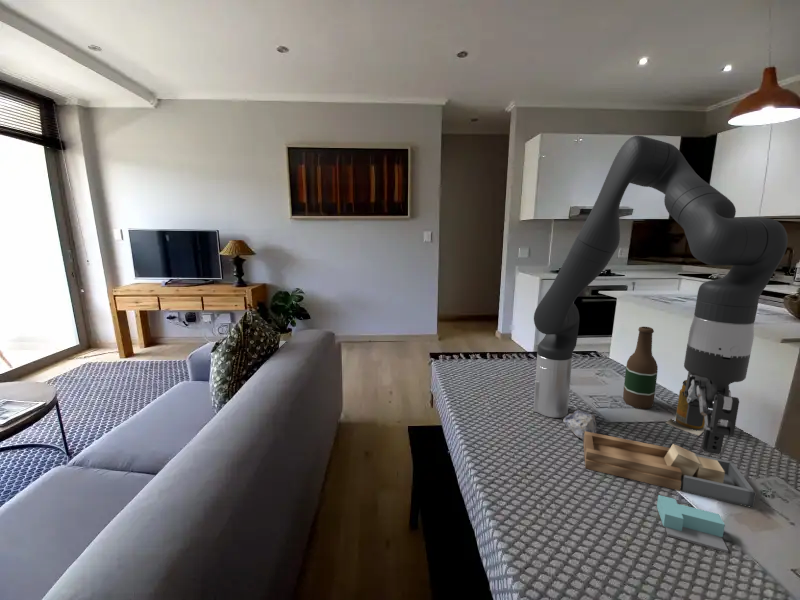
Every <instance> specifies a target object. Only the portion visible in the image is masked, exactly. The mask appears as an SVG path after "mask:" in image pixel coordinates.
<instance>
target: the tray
mask: <svg viewBox="0 0 800 600" xmlns="http://www.w3.org/2000/svg"><path fill="white" fill-rule="evenodd" d="M695 455H696V456H698V457H703V458H708V459H713V460H717V461H718V462H719V464H720V465H721V467H722V468H723V470H724V471H725V475H724V480H723V483H719V482H714V481H709V480H705V479H700V478H696V477H693V476H692V477H691V476H687V475H681V487H680V490H681V491H682V492H684V493H688V494H691V495H696V496H701V497H705V498H709V499H714V500H717V501H722V502H726V503H731V504H736V505H738V504H742V505H741V506H743V505H746V506H745V507H747V506H750V507H749V508H751V507H753V508H754V505H755V499H756V492H755V490H754V488H753V487H752V486H751V485H750V483H749V482H748V481H747V479H746V478H745V476H744V475H743V473H742V472H741V471H740V469H739V468H738V467H737V465H736V464H735V462H734V461H731V460H726V459H720V458H716V457H710V456H705V455H701V454H696V453H695Z"/></svg>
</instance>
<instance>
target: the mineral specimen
mask: <svg viewBox="0 0 800 600" xmlns="http://www.w3.org/2000/svg"><path fill="white" fill-rule="evenodd" d="M562 421H563V423H564V424H565V427H566V428H567V430H569V431H571V432H572V433H573V434H574V435H575V436H576V437H577V438H578V439H579V438H580V439H581V441H582V442H584V433H585V431H586V432H591V433H596V434H597V423H596V417H595V415H594V414H591V413H588V412H586V411H583V410H578V409H577V410H575V411H574V412H572V413H569V414H567V415H566V416H565V417H563V420H562Z"/></svg>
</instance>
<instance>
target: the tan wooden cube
mask: <svg viewBox="0 0 800 600" xmlns="http://www.w3.org/2000/svg"><path fill="white" fill-rule="evenodd" d="M669 448H670V449H669V451H668V452H667V454H666V455H665V457H664V459H665V461H666V464H667V465H668V466H672V467H677V468H680V470H681V472H682V474H681V475H687V476H691V477H692V476H693V475H694V473H695V472H696V470H697V469H698V467H699V466H700V465H701V464H700V462H699V460H698V459H697V457H696V455H697V454H696V453H695V452H693V451H692V450H691V451H690V450H689V449H685V448H684V447H681V446H680V445H677V444H674V443H672V445H671V446H670V447H669ZM695 454H696V455H695Z"/></svg>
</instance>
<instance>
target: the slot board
mask: <svg viewBox="0 0 800 600" xmlns="http://www.w3.org/2000/svg"><path fill="white" fill-rule="evenodd" d="M582 442H583V444H582V445H583V446H582V447H583V456H584V457H583V458H584V468H585V469H587V470H590V471H595V472H600V473H602V474H608V475H610V476H611V475H612V476H615V477H616V476H617V477H620V478H625V479H628V480H629V479H630V480H632V481H638V482H642V483H646V484H650V485H653V486H659V487H662V488H667V489H671V490H676V491H681V474H682V472H681V470H680V468H677V467H672V466H668V465H667V464H666V461H665V459H664V457H665V455H666V454H667V452H668V451H669V449H670V448H671V447H666V446H661V445H657V444H653V443H646V442H641V441H637V440H631V439H626V438H621V437H616V436H611V435H607V434H606V435H605V434H600V433H597V432H596V433H591V432H586V431H585V433H584V441H582Z"/></svg>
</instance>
